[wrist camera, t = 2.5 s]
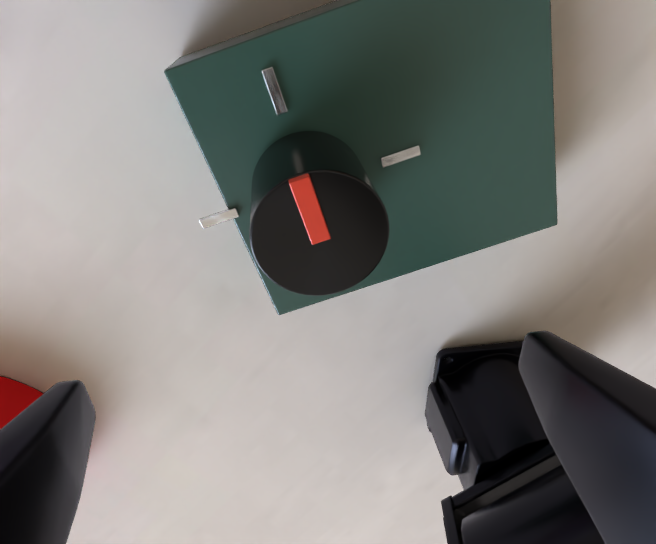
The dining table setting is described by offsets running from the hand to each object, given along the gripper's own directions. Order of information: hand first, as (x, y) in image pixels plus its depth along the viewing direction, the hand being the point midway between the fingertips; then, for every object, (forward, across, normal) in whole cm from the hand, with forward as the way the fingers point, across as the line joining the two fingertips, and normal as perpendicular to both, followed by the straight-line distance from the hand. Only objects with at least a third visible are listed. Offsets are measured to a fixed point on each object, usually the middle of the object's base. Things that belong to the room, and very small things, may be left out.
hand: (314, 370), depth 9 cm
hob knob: (+9, -1, -1) cm, 9 cm away
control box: (+12, -4, -1) cm, 12 cm away
